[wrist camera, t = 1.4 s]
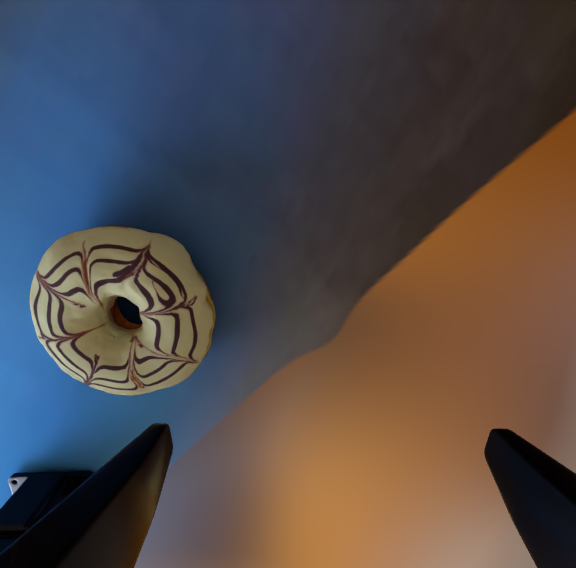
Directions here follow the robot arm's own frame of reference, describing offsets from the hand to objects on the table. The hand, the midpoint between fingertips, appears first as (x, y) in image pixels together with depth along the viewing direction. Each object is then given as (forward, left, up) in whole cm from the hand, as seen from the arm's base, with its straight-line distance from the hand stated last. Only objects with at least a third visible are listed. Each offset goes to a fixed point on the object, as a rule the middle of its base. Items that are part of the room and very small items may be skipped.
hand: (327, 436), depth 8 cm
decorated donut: (-1, +11, -13) cm, 17 cm away
